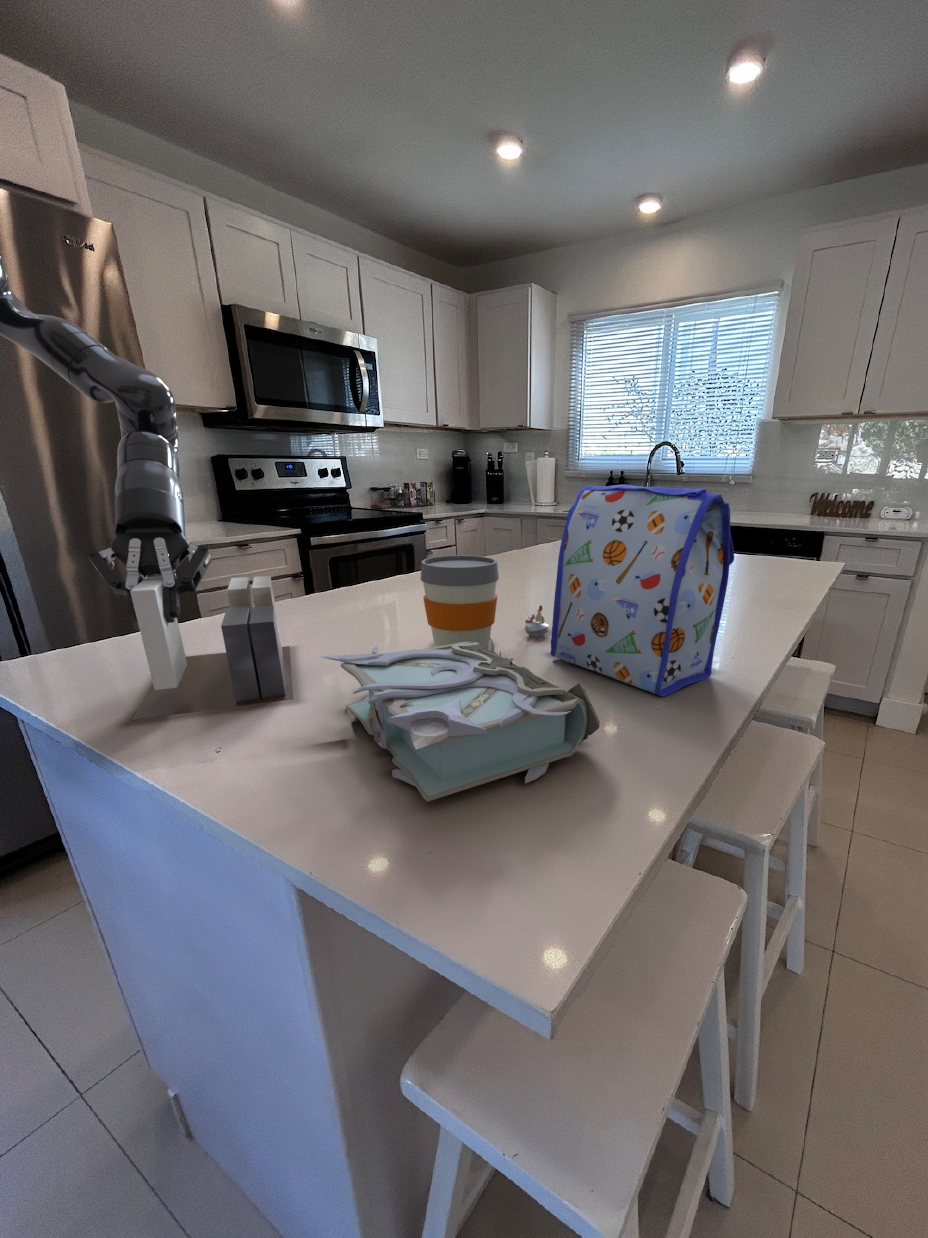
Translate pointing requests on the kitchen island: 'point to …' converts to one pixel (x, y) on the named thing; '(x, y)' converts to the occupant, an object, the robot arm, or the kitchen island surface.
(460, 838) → the kitchen island surface
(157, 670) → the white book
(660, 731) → the kitchen island surface
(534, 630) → the figurine
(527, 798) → the kitchen island surface
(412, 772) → the ornate book
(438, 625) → the reusable coffee cup
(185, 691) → the shelf board
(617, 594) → the lunch bag
